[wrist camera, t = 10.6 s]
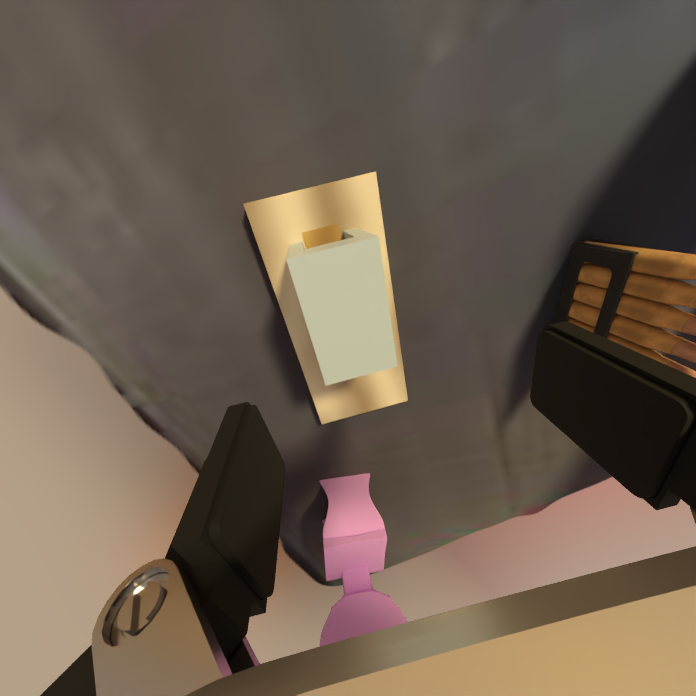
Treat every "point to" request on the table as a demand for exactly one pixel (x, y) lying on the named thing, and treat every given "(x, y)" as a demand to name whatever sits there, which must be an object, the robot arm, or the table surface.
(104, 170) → the table surface
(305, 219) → the board
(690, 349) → the ammunition clip
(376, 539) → the toy chair
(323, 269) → the pale green notched block
